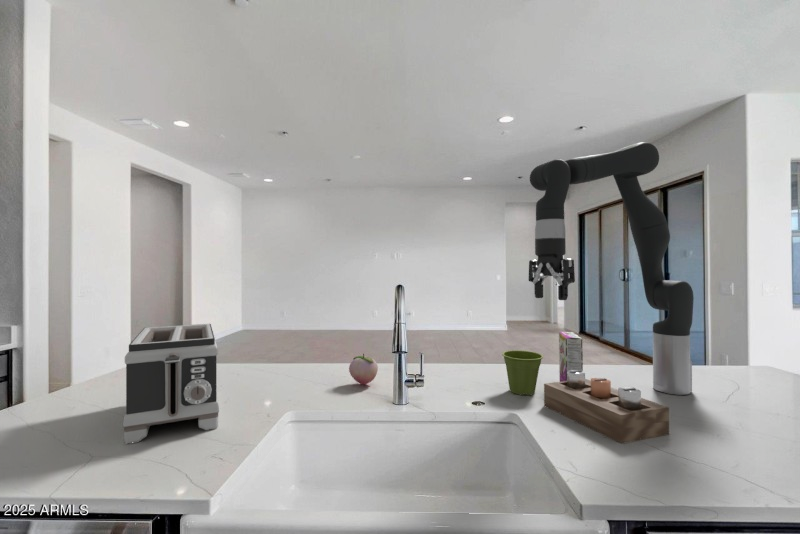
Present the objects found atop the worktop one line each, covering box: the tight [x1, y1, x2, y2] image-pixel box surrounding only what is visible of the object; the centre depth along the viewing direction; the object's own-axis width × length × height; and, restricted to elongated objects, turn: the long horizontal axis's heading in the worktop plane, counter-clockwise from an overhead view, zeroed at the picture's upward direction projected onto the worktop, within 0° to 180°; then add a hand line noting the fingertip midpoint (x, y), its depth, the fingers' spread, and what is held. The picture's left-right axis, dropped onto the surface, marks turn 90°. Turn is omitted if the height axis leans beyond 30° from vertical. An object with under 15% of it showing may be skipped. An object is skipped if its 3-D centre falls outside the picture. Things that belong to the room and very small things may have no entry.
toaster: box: [122, 323, 220, 444], centre depth 97 cm, size 18×34×21 cm, turn 28°
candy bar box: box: [558, 331, 584, 382], centre depth 121 cm, size 11×5×16 cm, turn 168°
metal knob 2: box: [617, 386, 642, 409], centre depth 88 cm, size 4×4×4 cm
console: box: [543, 378, 670, 444], centre depth 96 cm, size 14×24×6 cm, turn 19°
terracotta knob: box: [590, 377, 612, 398], centre depth 96 cm, size 4×4×4 cm
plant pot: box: [501, 349, 544, 396], centre depth 117 cm, size 12×12×11 cm
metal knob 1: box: [567, 370, 586, 388], centre depth 103 cm, size 4×4×4 cm
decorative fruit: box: [348, 353, 379, 386], centre depth 124 cm, size 9×8×10 cm
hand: (550, 299), depth 103 cm, fingers open, 8 cm apart
